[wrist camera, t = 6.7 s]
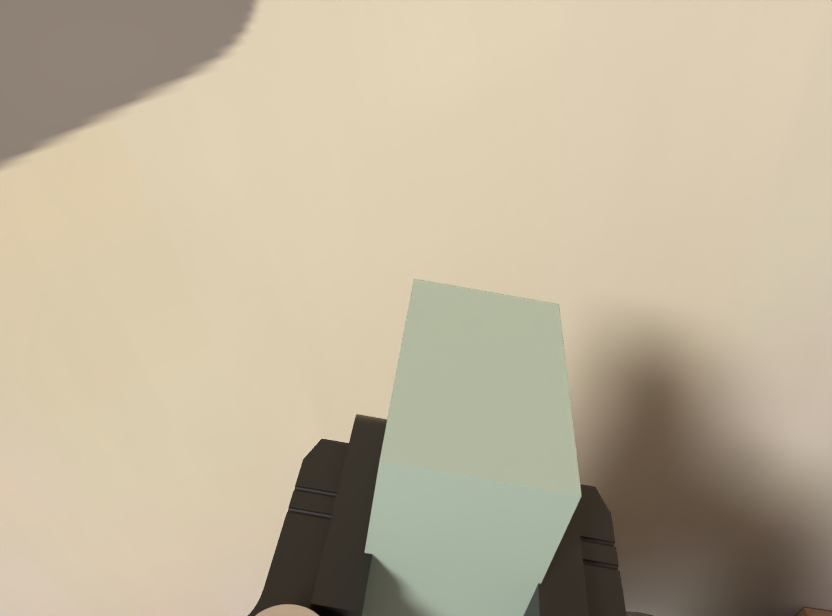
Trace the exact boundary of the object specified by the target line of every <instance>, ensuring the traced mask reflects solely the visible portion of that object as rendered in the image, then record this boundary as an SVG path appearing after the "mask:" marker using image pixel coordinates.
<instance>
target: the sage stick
mask: <svg viewBox="0 0 832 616" xmlns="http://www.w3.org/2000/svg"><path fill="white" fill-rule="evenodd" d="M580 498H581V487H580V479H579V470H578V461H577V453H576V444H575V436H574V427H573V419H572V410H571V402H570V393H569V385H568V376H567V367H566V359H565V350H564V342H563V333H562V325H561V316H560V308H559V304H555V303H549V302H543V301H538V300H532V299H526V298H521V297H515V296H509V295H504V294H498V293H492V292H487V291H481V290H475V289H470V288H464V287H458V286H453V285H447V284H441V283H436V282H430V281H424V280H419V279H414V281H413V287H412V292H411V297H410V302H409V308H408V313H407V318H406V324H405V329H404V334H403V339H402V345H401V350H400V355H399V361H398V366H397V371H396V377H395V382H394V387H393V392H392V398H391V403H390V408H389V414H388V419H387V424H386V429H385V435H384V440H383V445H382V451H381V456H380V461H379V467H378V473H377V480H376V486H375V492H374V498H373V504H372V510H371V516H370V522H369V528H368V534H367V540H366V546H365V552H364V553H369V554H372V560H371V565H370V571H369V577H368V583H367V588H366V594H365V600H364V606H363V611H362V616H524V613H525V611H526V609H527V607H528V605H529V603H530V600H531V598H532V596H533V594H534V592H535V589H536V587H537V585H538V583H540V584H541V583H542V580H543V578H544V576H545V574H546V572H547V570H548V567H549V565H550V563H551V561H552V559H553V557H554V554H555V552H556V550H557V548H558V546H559V544H560V541H561V539H562V537H563V535H564V533H565V531H566V528H567V526H568V524H569V522H570V520H571V518H572V515H573V513H574V511H575V509H576V507H577V505H578V502H579V500H580Z"/></svg>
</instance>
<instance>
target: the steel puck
mask: <svg viewBox="0 0 832 616" xmlns="http://www.w3.org/2000/svg"><path fill="white" fill-rule="evenodd" d="M626 616H652V615H649V614H644V613H638V612H626Z"/></svg>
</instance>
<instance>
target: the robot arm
mask: <svg viewBox="0 0 832 616" xmlns="http://www.w3.org/2000/svg"><path fill="white" fill-rule="evenodd" d="M386 424H387V420H386V419H381V418H375V417H369V416H364V415H358V414H357V415H356V418H355V421H354V425H353V430H352V434H351V438H350V442H349V443H344V442H338V441H332V440H327V439H321V440H320V441H319V442H318V444H317V445H316V446H315V447H314V448H313V449H312V450H311V451H310V452H309V454H308V455H307V456H306V457H305V458H304V459H303V462H302V465H301V469H300V472H299V475H298V478H297V482H296V485H295V490H294V491H293V495H292V498H291V501H290V505H289V509H288V512H287V514H286V518H285V521H284V524H283V527H282V531H281V534H280V537H279V540H278V544H277V547H276V550H275V553H274V557H273V560H272V563H271V566H270V570H269V573H268V576H267V580H266V583H265V586H264V589H263V592H262V595H261V597H260V599H259V601H258V603H257V605H256V606H255V608H254V609H253V610H252V612H251V613H250V614H249V615H248V616H362V611H363V606H364V600H365V594H366V588H367V583H368V577H369V571H370V565H371V560H372V554H369V553H364V552H365V546H366V540H367V534H368V528H369V522H370V516H371V510H372V504H373V498H374V492H375V486H376V480H377V473H378V467H379V461H380V456H381V451H382V445H383V440H384V435H385V429H386ZM580 487H581V498H580V500H579V502H578V505H577V507H576V509H575V511H574V513H573V515H572V518H571V520H570V522H569V524H568V526H567V528H566V531H565V533H564V535H563V537H562V539H561V541H560V544H559V546H558V548H557V550H556V552H555V554H554V557H553V559H552V561H551V563H550V565H549V567H548V570H547V572H546V574H545V576H544V578H543V580H542V583H541V584H540V583H538V585H537V587H536V589H535V592H534V594H533V596H532V598H531V600H530V603H529V605H528V607H527V609H526V611H525V613H524V616H626V610H625V603H624V597H623V590H622V584H621V578H620V571H618V558H617V552H616V547H614V543H615V539H614V532H613V526H612V519H611V513H610V512H609V510H608V508H607V507H606V505H605V503H604V501H603V500H602V498H601V496H600V494H599V493H598V491H597V489H596V488H595V487H592V486H586V485H581V484H580Z"/></svg>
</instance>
